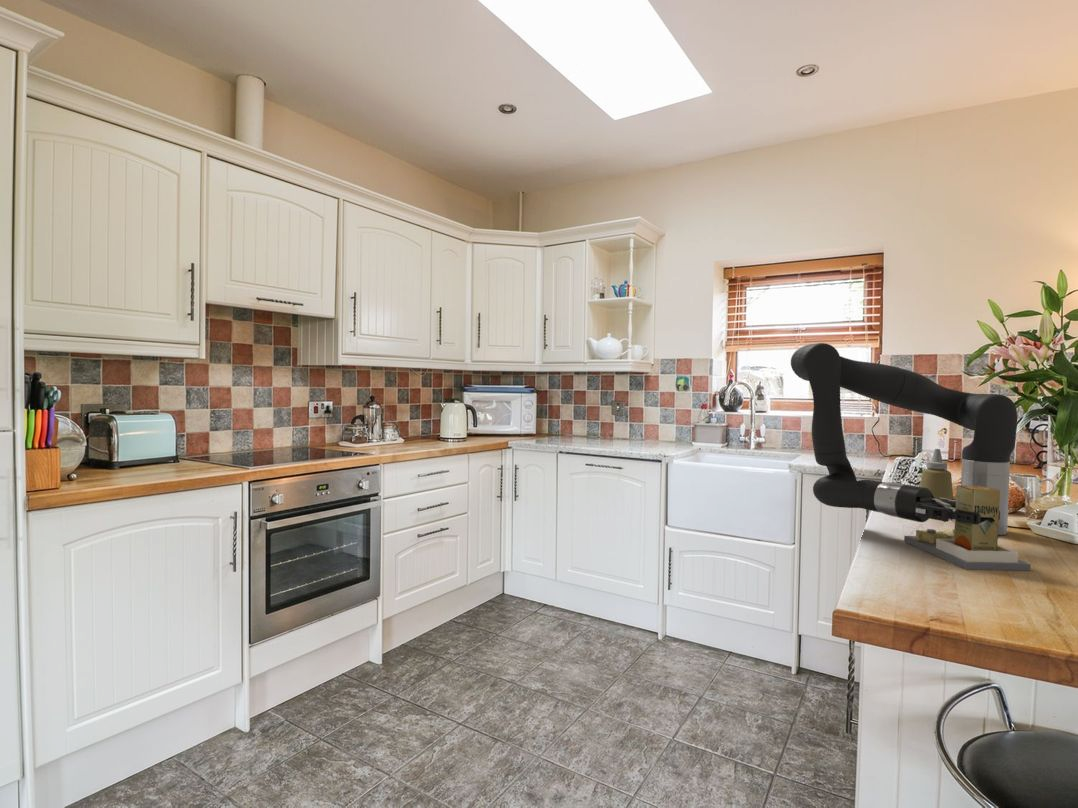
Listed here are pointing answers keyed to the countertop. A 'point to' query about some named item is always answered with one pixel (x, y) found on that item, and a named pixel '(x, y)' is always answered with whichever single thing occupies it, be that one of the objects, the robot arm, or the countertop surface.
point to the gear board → (928, 543)
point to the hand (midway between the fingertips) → (989, 517)
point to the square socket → (977, 553)
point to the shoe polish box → (988, 508)
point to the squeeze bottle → (937, 477)
